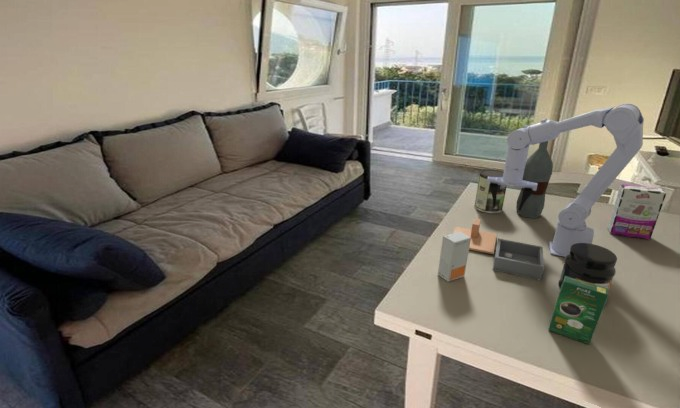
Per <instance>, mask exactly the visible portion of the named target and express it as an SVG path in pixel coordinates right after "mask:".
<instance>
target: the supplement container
mask: <svg viewBox="0 0 680 408" xmlns="http://www.w3.org/2000/svg"><path fill="white" fill-rule="evenodd" d="M617 261H618V257H617V255H616V254H615V253H614V252H613V251H612V250H610V249H608V248H606V247H604V246H601V245H598V244H594V243H592V244H589V243H576V244H573V245H572V246H571V248H570V251H569V255H567V256H566V257H564V262H563V267H562V270H561V274H560V278H559V280H558V286H557V287H558V288H559V290H560V289H561V286H562V283H563V280H564V277H565V276H567V277H571V278H574V279H577V280H581V281H584V282H588V283H591V284H594V285H598V286H601V287H605V288H608V292H609V291H610V288H611V285H612V282H613V279H614V277H615V275H616V272H617V271H616V268H615V266H616V265H617Z"/></svg>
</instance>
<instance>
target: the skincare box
mask: <svg viewBox="0 0 680 408" xmlns="http://www.w3.org/2000/svg"><path fill="white" fill-rule="evenodd" d="M470 241H471V238H470V237H469V236H467V235H465V234H463V233H462V232H457V233H453V232H452V233H450V234H447V235H443V236H442V241H441V247H440V248H441V249H440V256H439V263H438V270H437V275H438V276H439V277H440V278H442V279H444V280H445V281H446V282H448V283H449V282H452V281H455V280H459V279H461V278H464V277H465V274H466V269H467V263H468V257H469V252H470V249H469V247H470Z"/></svg>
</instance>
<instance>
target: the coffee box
mask: <svg viewBox="0 0 680 408" xmlns="http://www.w3.org/2000/svg"><path fill="white" fill-rule="evenodd" d="M608 298H609V291H608V288H605V287H601V286H598V285H594V284H591V283H588V282H584V281H581V280H577V279H574V278H571V277H567V276H565V277H564V280H563V283H562V286H561V289H559V292H558V295H557V298H556V301H555V304H554V308H553V311H552V313H551V317H550V321H549V324H548V331H549V332H553V333H554V334H557V335H561V336H564V337H567V338H570V339H572V340H576V341H577V342H580V343H584V344H587V345H590V344H591V341H592V340H593V337H594V334H595V331H596V328H597V325H598V324H599V321H600V319H601V316H602V314H603V311H604V308H605V306H606V303H607V301H608Z"/></svg>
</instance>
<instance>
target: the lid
mask: <svg viewBox="0 0 680 408" xmlns="http://www.w3.org/2000/svg"><path fill="white" fill-rule="evenodd" d="M481 221H482V219H481V218H477V217H474V219H473V222H472V225H471V228H466V227H465V228H464V227H459V226H455V227H454V230H453V232H452V233H457V232H462V233H463V234H465V235H467V236H469V237H470V238H471V241H470V247H469V251H475V252H480V253H484V254H491V255H495V253H494V252H495V249H496V242H497V241H496V240H497V233H492V232H488V231H487V232H486V231H483V230H482V231H481V230H480V227H481Z"/></svg>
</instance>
